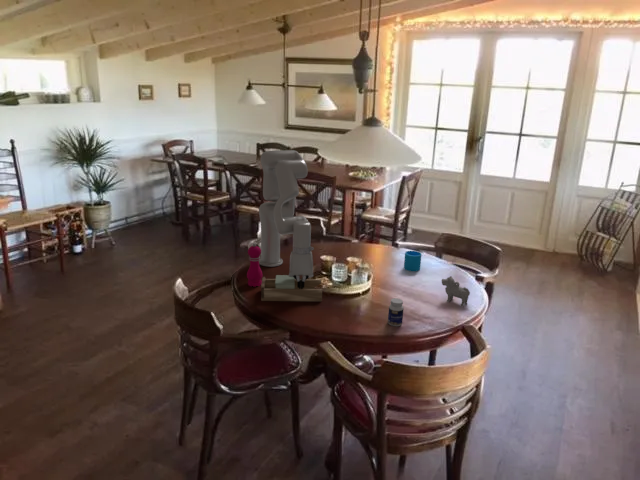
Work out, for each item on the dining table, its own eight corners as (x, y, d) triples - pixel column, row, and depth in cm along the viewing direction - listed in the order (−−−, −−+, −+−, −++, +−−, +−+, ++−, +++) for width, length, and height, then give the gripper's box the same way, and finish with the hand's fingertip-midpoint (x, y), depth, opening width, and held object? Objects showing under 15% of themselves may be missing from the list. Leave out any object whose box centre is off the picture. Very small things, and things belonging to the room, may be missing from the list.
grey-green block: (275, 288, 235) (276, 275, 233) (294, 288, 235) (294, 275, 233) (275, 296, 226) (275, 283, 224) (294, 296, 227) (294, 283, 225)
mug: (420, 272, 263) (422, 256, 260) (404, 271, 263) (405, 255, 261) (418, 263, 274) (420, 248, 272) (402, 262, 275) (404, 247, 272)
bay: (262, 289, 236) (262, 276, 234) (320, 290, 238) (321, 277, 236) (261, 300, 225) (261, 287, 223) (321, 301, 226) (322, 288, 224)
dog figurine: (442, 295, 236) (444, 273, 233) (470, 303, 229) (472, 280, 226) (437, 299, 232) (439, 276, 229) (465, 307, 225) (468, 284, 222)
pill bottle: (390, 327, 206) (392, 304, 203) (385, 320, 211) (387, 297, 208) (404, 326, 207) (406, 303, 204) (399, 319, 212) (401, 297, 209)
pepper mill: (259, 288, 238) (259, 246, 231) (244, 286, 239) (244, 244, 233) (264, 282, 244) (264, 241, 238) (249, 280, 246) (249, 239, 240)
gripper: (318, 246, 229) (317, 285, 235) (284, 246, 228) (283, 285, 234) (319, 252, 222) (318, 292, 228) (283, 252, 221) (283, 292, 227)
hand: (300, 289), depth 231 cm, fingers closed
